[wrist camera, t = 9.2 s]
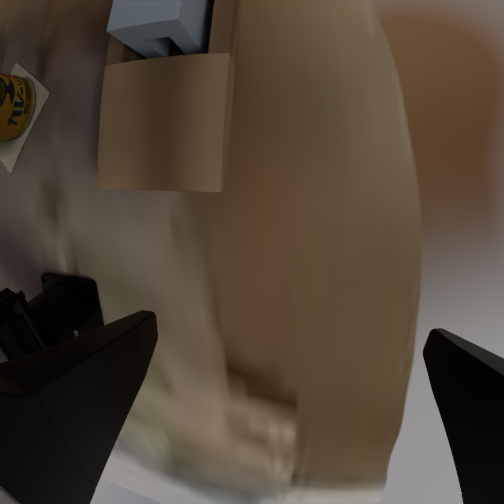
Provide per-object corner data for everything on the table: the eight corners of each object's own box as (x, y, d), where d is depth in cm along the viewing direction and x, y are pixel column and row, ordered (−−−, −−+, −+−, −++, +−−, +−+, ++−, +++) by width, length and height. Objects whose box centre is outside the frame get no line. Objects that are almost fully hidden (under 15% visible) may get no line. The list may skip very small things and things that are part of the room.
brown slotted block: (119, 184, 20) (98, 190, 17) (149, -41, 14) (136, -59, 11) (228, 187, 19) (220, 192, 16) (247, -53, 13) (243, -74, 10)
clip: (152, 62, 17) (106, 31, 11) (159, 16, 16) (120, -24, 9) (207, 58, 17) (178, 19, 10) (212, 11, 15) (189, -38, 9)
